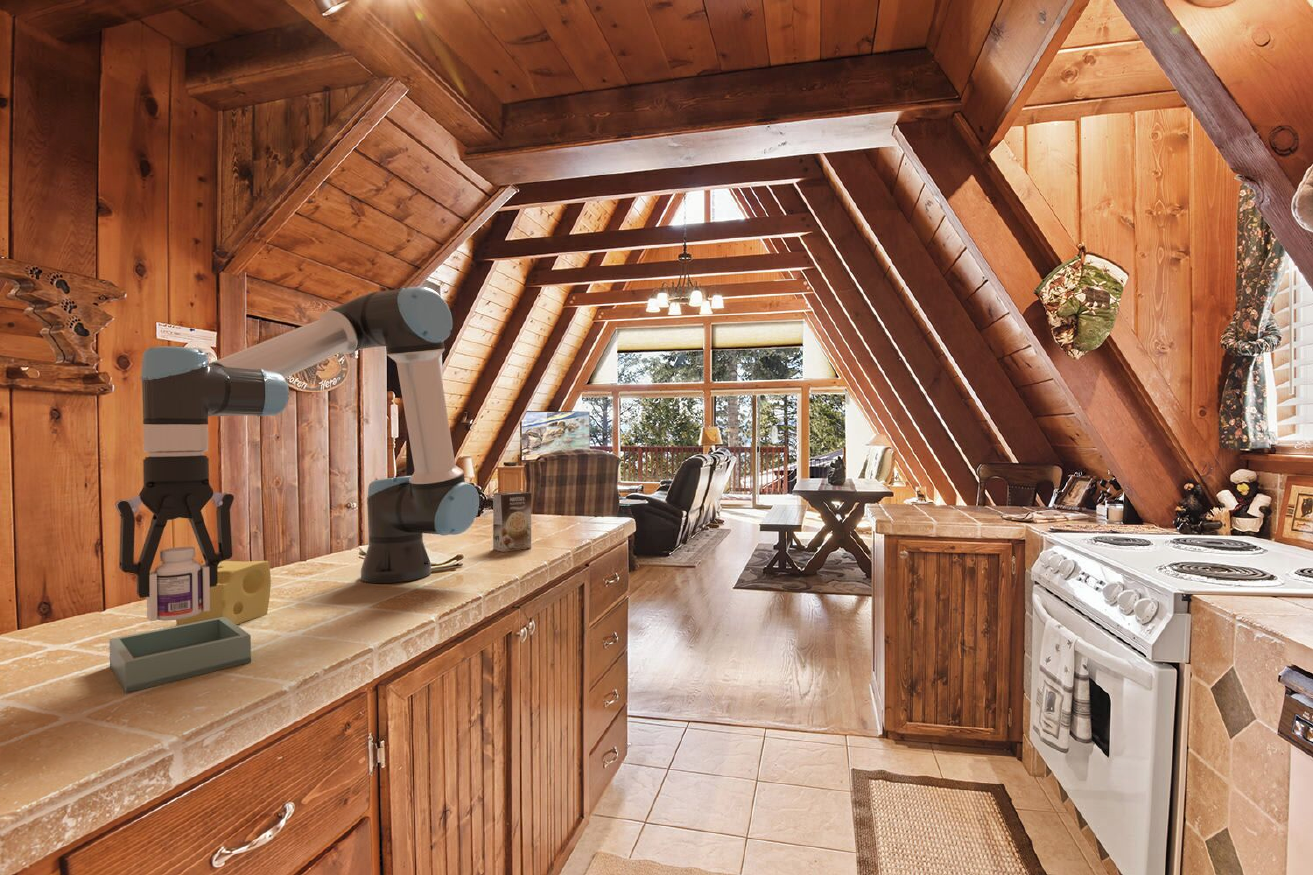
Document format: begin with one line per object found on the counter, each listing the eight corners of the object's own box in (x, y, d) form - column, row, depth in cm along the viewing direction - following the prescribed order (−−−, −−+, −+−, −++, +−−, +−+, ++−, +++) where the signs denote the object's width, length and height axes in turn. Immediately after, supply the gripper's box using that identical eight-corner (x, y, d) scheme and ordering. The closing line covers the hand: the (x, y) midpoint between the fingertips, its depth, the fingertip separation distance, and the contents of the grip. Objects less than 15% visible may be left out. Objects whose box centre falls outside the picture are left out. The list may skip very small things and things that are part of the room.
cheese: (222, 631, 105) (221, 572, 105) (171, 628, 107) (169, 570, 107) (272, 613, 115) (271, 560, 115) (224, 610, 117) (223, 558, 117)
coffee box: (502, 552, 171) (501, 494, 170) (492, 549, 176) (491, 493, 175) (532, 548, 177) (531, 492, 176) (521, 545, 181) (520, 490, 181)
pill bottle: (177, 610, 92) (176, 545, 92) (211, 610, 92) (210, 545, 92) (144, 621, 87) (143, 552, 87) (180, 621, 87) (179, 552, 87)
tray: (225, 641, 100) (224, 616, 99) (251, 662, 90) (250, 634, 90) (109, 666, 89) (109, 638, 89) (125, 693, 80) (125, 662, 80)
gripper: (243, 452, 99) (245, 596, 99) (87, 456, 85) (90, 623, 85) (257, 453, 94) (259, 605, 94) (94, 457, 80) (97, 635, 80)
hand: (179, 613), depth 89 cm, fingers closed on pill bottle, 5 cm apart
